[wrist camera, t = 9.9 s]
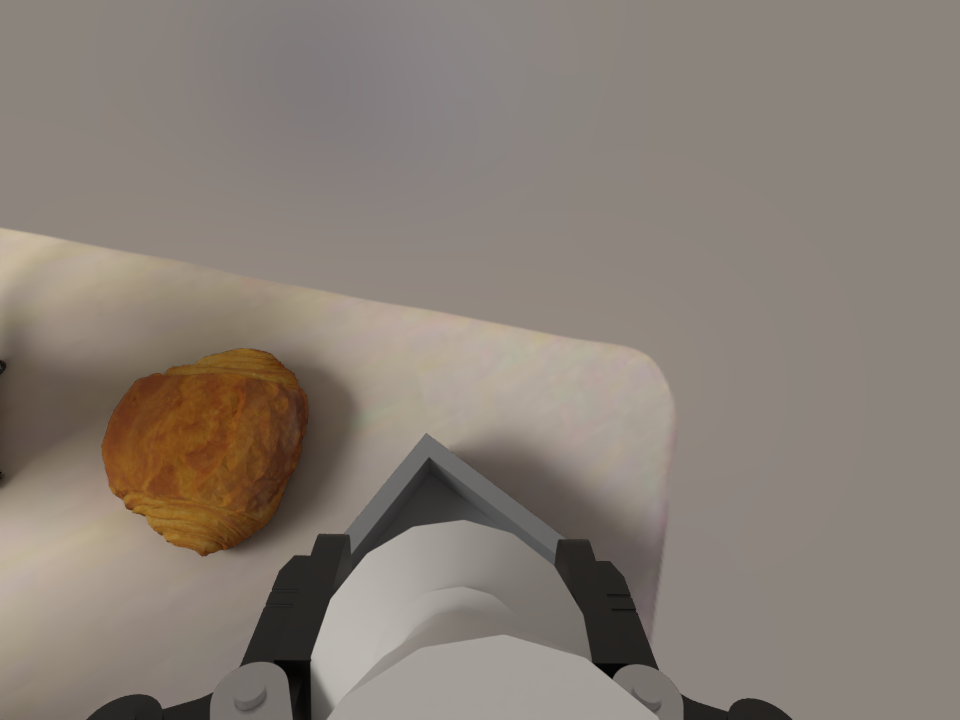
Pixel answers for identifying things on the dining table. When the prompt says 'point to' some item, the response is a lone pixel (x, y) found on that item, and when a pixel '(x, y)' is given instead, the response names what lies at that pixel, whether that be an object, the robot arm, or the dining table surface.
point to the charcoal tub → (443, 503)
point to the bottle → (459, 636)
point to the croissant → (207, 447)
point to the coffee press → (0, 368)
